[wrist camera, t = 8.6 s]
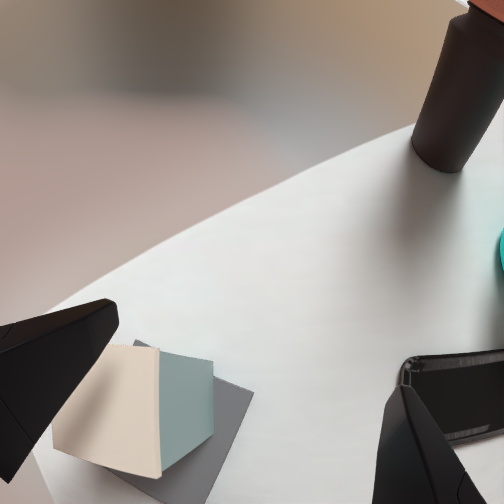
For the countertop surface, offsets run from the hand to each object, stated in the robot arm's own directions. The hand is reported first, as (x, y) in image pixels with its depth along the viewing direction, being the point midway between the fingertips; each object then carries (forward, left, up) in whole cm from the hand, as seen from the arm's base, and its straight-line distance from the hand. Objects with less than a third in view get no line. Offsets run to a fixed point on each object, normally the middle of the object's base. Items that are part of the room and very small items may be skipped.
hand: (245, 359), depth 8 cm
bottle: (+26, -10, -14) cm, 31 cm away
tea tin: (-5, +5, -13) cm, 15 cm away
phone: (+2, -18, -14) cm, 23 cm away
